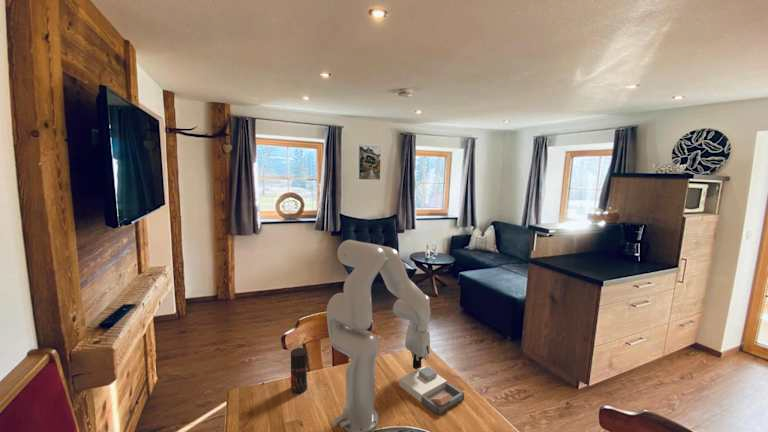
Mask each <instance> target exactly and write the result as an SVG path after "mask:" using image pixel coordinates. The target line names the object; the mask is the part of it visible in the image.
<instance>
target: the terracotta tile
mask: <svg viewBox="0 0 768 432" xmlns="http://www.w3.org/2000/svg"><path fill="white" fill-rule="evenodd" d="M450 400H451V397H450V394H439V395H437V396H435V397H434V398H432V399H431V401H432V402H433V403H435V404H436V405H444V404H445V403H447V402H449V401H450Z"/></svg>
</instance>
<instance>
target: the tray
mask: <svg viewBox="0 0 768 432" xmlns="http://www.w3.org/2000/svg"><path fill="white" fill-rule="evenodd" d="M439 394H450V397H451V400H450V401H449V402H447V403H445V404H444V405H436V404H435V403H433V402H432V401H431V399H432V398H434V397H435V396H437V395H439ZM464 400H465V392H463V391H462V390H460V389H458V388H457V387H456V386H454V385H453V384H451V383H449V382H448V381H447V383H446V388H444V389H443V390H441V391H439V392H437V393H436V394H434V395H432V396H430V397H429V398H427V397H425V396H422V402H421V404H422V405H424V406H425V407H426V408H428V409H429V410H430V411H432V412H433V413H434V414H435V415H437V416H440V415H441V414H443V413H445V412H446V411H448V410H449V409H451V408H453V407H454V406H456V405H458V404H459V403H461V402H462V401H464Z"/></svg>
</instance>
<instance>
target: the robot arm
mask: <svg viewBox="0 0 768 432" xmlns="http://www.w3.org/2000/svg"><path fill="white" fill-rule="evenodd" d="M336 253H337V259H338V260H339V262H340V263H341V264H342V265H345V266H348V267H351V268H353V270H352V271H351V273H350V274H348V276H347V278H346V279H345V281H344V284H343V292H338V293H335V294H334V295H333V296H332V297H331V298H330V299H329V301H328V303H327V307H326V320H327V321H326V322H327V330H328V331H327V332H328V338H329V342H330V345H331V346H332V347H333V349H335V350H336V351H338V352H340V353H342V354H344V355H346V357H349V358H350V359H351V362H350V363H348V366H347V368H346V370H345V408H342V413H341V414H340V415H339V416H336V417H335V418H332V420H331V423H332V425H333V426H337V425H338V424H339V427H340V428H343V429H344V430H345V431H347V432H372V431H373V430H375V429H376V427H377V425H378V424H379V414H378V412H377V410H376V409H375V388H376V387H375V386H376V365H377V359H378V356H379V355H378V354H379V351H380V341H379V339H378V337H377V336H376V335H375V334H374V333H373V332H371V331H370V330H368V329H369V328H370V327H371V325H372V322H373V306H372V305H373V304H372V284H373V282H374V280H375V278H376V276H377V275H378V274H379V273H380V275H381V278H382V279H383V282H384V284H385V286H386V289H387V290H388V291H389V292H390V293H392V295H394V296H395V297H397V298H398V299H397V300H396V301H395V302H394V304H393V307H392V308H393V310H392V311H393V313H394V315H396V316H397V317H399V318H400V319H403V320H406V321H409V325H408V327H407V329H406V333H405V341H404V342H405V344H404V346H405V348H406V349H407V350H408V351H410V353H411V358H412V369H414V370H418V369H420V368H422V360H428V359H429V354H430V351H431V336H430V335H431V334H430V330H429V321H430V317H431V307H430V304H431V300H430V296H428V295H427V294H425V293H424V292H423V291H422V290H421V289H420V288H419V287H418V286H417V285H416V283H414V282H413V281H412V280H411V279H410V278H409V276H408V275H409V274H408V273H407V271H406V268H405V266H404V262H403V260H402V258H401V255H400V253H399V251H397V250H396V249H395V248H392V247H391V246H386V245H385V246H384V245H380V244H375V243H369V242H364V241H358V240H353V239H347V240H344V241H343V242H342V243H341V244H340V245H339V246H338V248H337V252H336Z"/></svg>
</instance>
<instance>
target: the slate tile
mask: <svg viewBox="0 0 768 432" xmlns="http://www.w3.org/2000/svg"><path fill="white" fill-rule="evenodd" d="M437 375H438V372H437V371H435V370H434V369H432V368H431V367H429V366H425V368H423V369H421V370H419V376H420V377H422V378H423V379H425V380H426V381H430V380H432V379H434V378H436V377H437Z"/></svg>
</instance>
